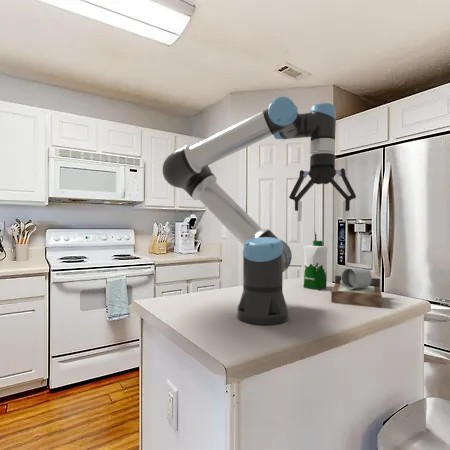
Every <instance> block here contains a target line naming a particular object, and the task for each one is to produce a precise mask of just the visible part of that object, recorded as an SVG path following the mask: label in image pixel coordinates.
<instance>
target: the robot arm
mask: <svg viewBox="0 0 450 450" xmlns="http://www.w3.org/2000/svg"><path fill="white" fill-rule="evenodd" d="M336 116H337V115H336V107H335V105H334V104H332V103H329V102H320V103H318V104H316V103H315V104H314V105H313V106H311V109H310V111H309V112H305V113H299V111H298V106H297V105H296V104H295V103H294V101H293V100H292V99H290V98H289V97H287V96H278V97H275V98H274V99H273V100H272V101H271V102H270V104H269V106H268V108H267V109H264V110H263V111H260V112H258V113H256V114H254V115H252V116H250V117H248V118H246V119H244V120H242V121H240V122H238V123H236V124H233V125H232V126H230V127H227V128H226V129H224V130H222V131H220V132H218V133H215V134H214V135H211V136H210V137H208V138H206V139H203V140H201V141H200V142H198V143H195V144H194V145H188V144H187V145H184V146H183V147H180V148H179V149H176V150H175V151H173V152H172V153H170V154H169V155H168V156H167V157H166V158H165V160H164V162H163V164H162V170H161V171H162V174H163V178H164V180H165V181H166V182H167V184H169V185H170V186H172V187H175V188H178V189H182V190H184V191H185V193H187V194H188V195H189V196H190V197H191V198H192V199H193V200H194V201H198V200H199V201H200V202H201V203H202V204H203V205H204V206H205V207H206V208H207V209H208V210H209V211H210V212H211V213H212V214H213V215H214V216H215V217H216V218H217V219H218V221H220V223H221V224H223V226H224V227H225V228H226V229H227V230H228V231H229V232H230V233H232V235H233V236H234V237H235V238H236V239H237V240H238V241H239V242H240V243H241V244H242V246H243V250H242V258H243V259H242V261H243V263H242V265H243V266H242V270H243V272H242V275H243V276H242V279H243V282H242V285H243V286H242V288H243V289H242V292H241V293H242V294H241V297H240V300H239V302H238V306H237V308H236V310H237V311H236V312H237V313H236V316H237V319H238V320H240V321H242V322H244V323H249V324H253V325H260V326H261V325H263V326H265V325H267V326H268V325H272V326H273V325H280V324H283V323H285V322H287V321H288V320H289V309H288V306H287V303H286V300H285V295H284V292H283V277H284V274H283V273H284V272H285V271H286V270H287V269H288V268H289V266H290V265H291V262H292V258H293V255H292V250H291V247H290V246H289V245H288V244H287V242H286V241H284V240H282V239H279V238H278V237H277V236H276V235H275V234H274V233H273V232H272V231H271V230H270V229H269V228H266V229H265V228H262V227H261V226H260V225H259V224H258V223H257V222H256V221H255V220H254V219H253V218H252V217H251V216H250V215H249V214H248V213H247V212H246V211H245V210H244V209H243V208H242V207H241V206H240V205H239V204H238V203H237V202H236V201H235V200H234V199H233V198H232V197H231V196H230V195H229V194H228V192H226V191H225V190H224V189H223V188H222V187H221V186H220V185H219V183H217V180H218V179H217V176H216V175H215V174H214V173H213V172H212V170H211V168H210V165H211V164H214V163H216V162H218V161H220V160H223V159H225V158H226V157H228V156H232V155H233V154H235V153H237V152H240V151H241V150H243V149H246V148H247V147H250V146H252V145H254V144H256V143H259V142H261V141H262V140H265V139H267V138H268V137H269V138H270V137H271V136H273V138H275V140H291V139H301V138H302V139H303V138H310V145H309V146H310V150H309V151H310V152H309V154H311V155H310V156H309V157H310V158H309V170H308V171H307V170H303V169H302V170H299V177H298V179H297V181H296V182H295V185H294V187H293V189H292V191H291V192H290V195H289V196H288V198H289V199H290V200H293V201H294V211H295V212H297V222H302V221H303V220H302V219H303V217H302V215H303V212H302V211H303V209H302V208H303V201H301V199H302V198H303V197H304V195H306V194H307V192H308V191H309V190H310V189H311V188H312V187H313V186H314V185H315V184H316V185H328V184H331V185H332V186H333V187H334V188H335V189H336V190H337V192H338V193H339V194H340V195H341V196H342V197H343V199H345V200H342V222H343V223H346V215H347V214H346V213H347V212H349V211H350V210H351V209H350V207H351V204H350V203H351V201H352V200H354V199H356V198H357V195H356V193H355V191H354V189H353V187H352V185H351V183H350V181H349V179H348V177H347V176H346V169H345V168H341V169H336V168H335V167H336V155H335V153H336V126H337V124H336V123H337V117H336ZM336 175H338V177H341V180H342V181H343V182H344V184H345V187H346V189H347V191H348V192H349V195H348V194H347V193H346V192H345V191H344V190H343V189H342V188H341V186H340V185H339V184H338V183H337V182H336V181H335V180H334V177H335V176H336ZM307 176H309V178H310V180H309V181H308V182H307V183H306V185H304V187H303V188H302V189H301V190H300V188H301V185H302V184H303V182H304V179H306V178H307ZM299 190H300V192H299ZM298 192H299V193H298ZM297 193H298V194H297Z"/></svg>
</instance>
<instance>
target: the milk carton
mask: <svg viewBox="0 0 450 450" xmlns="http://www.w3.org/2000/svg"><path fill="white" fill-rule="evenodd" d="M328 248H329V246H328V245H324V242H323V240H312V244H307V245H303V246H302V249H303V254H304V257H303V258H304V262H303V263H304V267H303V268H304V269H303V271H304V272H303V274H304V275H303V288H306V289H309V290H310V289H311V290H315V291H320V290H323V289H326V288H327V279H328V278H327V274H328V273H327V267H328V266H327V264H328V263H327V262H328V261H327V259H328V257H327V256H328Z"/></svg>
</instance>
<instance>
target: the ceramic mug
mask: <svg viewBox="0 0 450 450" xmlns="http://www.w3.org/2000/svg"><path fill="white" fill-rule="evenodd" d="M340 276H341V281H340V283H341V285H344V287H345V288H347V289H350V290H351V289H360V288H366V287H368V286H369V285H370V284H371V281H372V278H373V277H372V274H371V273H370V271H369V270H367V269H366V268H362V267H358V268H357V267H347V268H344V270H343V271H342V273H341V275H340Z"/></svg>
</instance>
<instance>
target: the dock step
mask: <svg viewBox="0 0 450 450" xmlns="http://www.w3.org/2000/svg"><path fill="white" fill-rule="evenodd" d="M340 281H341V275H334V285H333V287H332V289H331V292H330V298H331V299H330V301H331V303H336V304H343V305H345V304H347V305H353V306H354V305H356V306H363V307H365V306H366V307H375V308H382V302H383V301H382V299H383V298H382V297H383V296H382V289H381V278H379V277H378V278H377V277H375V278H374V277H372V281H371V284H370V285H369V286H368V287H366V288H360V289H351V290H350V289H347V288H345V287H344V285H341V283H340Z"/></svg>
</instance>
